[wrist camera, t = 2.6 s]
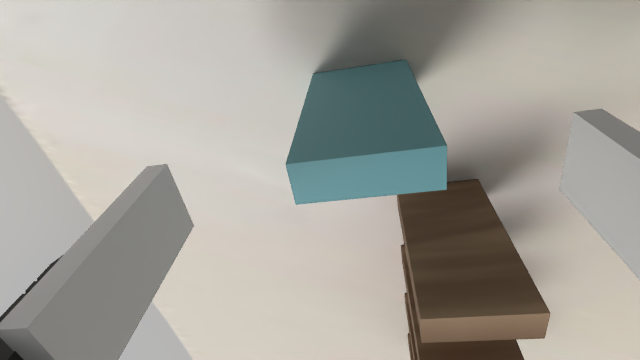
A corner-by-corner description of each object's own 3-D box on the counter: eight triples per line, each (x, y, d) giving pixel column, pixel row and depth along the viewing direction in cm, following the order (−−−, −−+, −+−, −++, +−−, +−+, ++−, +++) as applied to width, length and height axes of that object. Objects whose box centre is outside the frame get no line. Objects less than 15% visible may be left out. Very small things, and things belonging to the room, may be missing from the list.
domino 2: (396, 187, 24) (420, 319, 15) (477, 179, 23) (550, 313, 15) (397, 207, 25) (421, 343, 16) (476, 199, 24) (544, 338, 15)
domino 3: (400, 245, 26) (423, 386, 18) (474, 239, 26) (534, 383, 17) (402, 261, 27) (424, 403, 19) (473, 256, 26) (530, 401, 18)
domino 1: (313, 73, 20) (285, 164, 12) (405, 59, 20) (447, 145, 11) (318, 101, 21) (295, 204, 13) (407, 88, 20) (446, 189, 12)
